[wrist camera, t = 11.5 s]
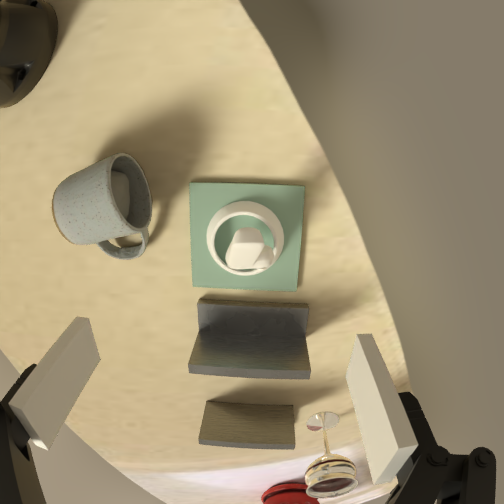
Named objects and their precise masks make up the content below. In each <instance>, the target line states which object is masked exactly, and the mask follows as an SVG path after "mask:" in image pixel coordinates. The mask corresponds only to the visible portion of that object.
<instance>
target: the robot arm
mask: <svg viewBox="0 0 504 504" xmlns="http://www.w3.org/2000/svg"><path fill="white" fill-rule="evenodd" d="M56 37H57V17H56V13H55V11H54V9H53V7H52V6H51V5H50V4H49V3H47V2H45V1H43V0H0V108H5V107H9V106H12V105H14V104H16V103H18V102H19V101H20V100H22V99H23V98H24V97H25V96H26V95H27V94H28V93H29V92H30V91H31V90H32V89H33V88H34V86H35V85H36V84H37V82H38V81H39V79H40V78H41V76H42V74H43V73H44V71H45V69H46V67H47V65H48V63H49V60H50V58H51V55H52V53H53V50H54V46H55V42H56ZM100 360H101V359H100V356H99V353H98V349H97V346H96V342H95V339H94V335H93V332H92V328H91V324H90V321H89V318H84V317H78V316H77V317H76V318H75V319H74V320H73V322H72V323H71V324H70V325H69V326H68V327H67V329H66V330H65V331H64V332H63V333H62V335H61V336H60V337H59V338H58V340H57V341H56V342H55V343H54V344H53V346H52V347H51V348H50V349H49V351H48V352H47V353H46V354H45V356H44V357H43V358H42V359H41V361H40V362H39V363H38V365H37V364H32V365H31V366H30V367H28V368H27V369H25V371H24V372H23V373H22V374H21V376H20V378H18V380H17V381H16V384H14V385H13V386H12V387H11V389H10V390H9V391H8V393H7V394H6V395H5V397H4V398H3V399H2V401H1V402H0V504H46V501H45V498H44V495H43V492H42V489H41V486H40V483H39V479H38V476H37V472H36V468H35V465H34V461H33V457H32V453H31V448H30V446H29V444H28V440H29V439H30V438H31V439H32V441H33V442H34V443H35V445H37V446H39V447H41V448H44V449H46V450H49V449H50V447H51V445H52V444H53V442H54V440H55V438H56V436H57V434H58V432H59V430H60V429H61V427H62V425H63V423H64V421H65V420H66V418H67V416H68V414H69V412H70V411H71V409H72V407H73V405H74V404H75V402H76V400H77V398H78V397H79V395H80V393H81V392H82V390H83V388H84V386H85V385H86V383H87V381H88V380H89V378H90V376H91V375H92V373H93V371H94V370H95V368H96V366H97V365H98V363H99V361H100ZM346 380H347V383H348V387H349V391H350V394H351V398H352V402H353V405H354V409H355V413H356V417H357V420H358V424H359V428H360V432H361V436H362V440H363V444H364V448H365V452H366V456H367V460H368V465H369V469H370V473H371V477H372V482H373V485H377V484H383V483H389V482H391V481H392V480H393V479H394V478H395V476H396V475H397V479H398V484H397V485H396V487H395V488H394V489H393V490H392V491H391V492H390V494H391V495H390V497H389V498H388V500H387V502H386V503H385V504H434V503H435V500H436V499H437V504H495V489H496V459H495V456H494V454H493V452H492V451H490V450H489V449H487V448H484V447H478V448H476V449H474V450H473V451H472V452H471V453H470V455H455V454H454V455H453V454H450V453H449V452H448V451H447V449H445V448H443V447H441V446H438V445H437V443H436V441H435V438H434V436H433V434H432V431H431V429H430V426H429V424H428V422H427V420H426V418H425V415H424V413H423V411H422V410H421V406H420V404H419V402H418V400H417V399H416V398H415V397H414V396H413V395H412V394H411V393H410V392H402V393H398V392H397V390H396V388H395V385H394V383H393V381H392V378H391V376H390V374H389V371H388V369H387V367H386V365H385V362H384V360H383V358H382V356H381V353H380V351H379V349H378V347H377V345H376V342H375V340H374V338H373V336H372V334H357V335H356V339H355V343H354V347H353V351H352V354H351V358H350V362H349V366H348V369H347V373H346Z"/></svg>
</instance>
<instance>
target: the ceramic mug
mask: <svg viewBox="0 0 504 504" xmlns="http://www.w3.org/2000/svg"><path fill="white" fill-rule="evenodd" d="M52 214H53V218H54V221H55V224H56V226H57V228H58V230H59V232H60V233H61V234H62V236H63V237H64V238H65V239H66V240H68V241H69V242H71V243H73V244H77V245H90V244H94V243H96V244H97V245H98V246H99V247H100V249H101V250H102V251H104V252H105V253H106V254H107V255H109V256H111V257H114V258H117V259H123V260H129V259H134V258H137V257H139V256H141V255H142V254H143V253H144V251H145V249H146V246H147V243H148V239H149V233H148V228H147V227H148V225H149V223H150V221H151V216H152V199H151V194H150V190H149V185H148V182H147V179H146V177H145V175H144V172H143V170H142V168H141V167H140V166H139V164H138V163H137V161H136V160H135V159H134V158H133V157H131V156H130V155H128V154H126V153H117V154H114V155H112V156H110V157H108V158H106V159H104V160H101V161H99V162H97V163H95V164H93V165H91V166H89V167H87V168H85V169H83V170H81V171H78V172H76V173H74V174H72V175H70V176H69V177H68V178H66V179H65V180H64V181H62V182H61V183H60V184H59V185H58V187H57V188H56V190H55V192H54V195H53V199H52ZM137 233H141V238H142V244H141V245H140V246H135V247H128V248H124V247H122V248H119V247H116V246H115V245H113V244H111V243H110V242H109V241H108V240H109V239H114V238H118V237H123V236H128V235H132V234H137Z"/></svg>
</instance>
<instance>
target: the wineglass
mask: <svg viewBox="0 0 504 504" xmlns="http://www.w3.org/2000/svg"><path fill="white" fill-rule="evenodd" d="M338 422H339V417H338V416H337V415H336V414H334V413H331V412H322V413H318V414H315V415H313V416H312V417H310V418H309V419H308V421H307V427H308V429H310V430H312V431H315V432H323V439H324V451H325V455H323V456H322V457H319V458H318V459H316V460H315V461H314V462H313V463H312V464H310V465H309V467H308V468H307V470H306V473H305V483H306V485H307V486H308V487H307V489H306V493H307V494H308V495H309V496H311V497H314V498H332V497H337V496H341V495H344V494H346V493H349V492H350V491H352V490H353V489H355V488H356V487H357V485H358V481H357V480H356V479H355V476H356V469H355V465H354V464H353V462H352V461H351V460H350V459H348V458H346V457H344V456H341V455H338V454H331V453H330V449H329V444H328V439H327V435H326V431H327V430H330V429H332V428H334V427H335V426H336V425H337V424H338Z"/></svg>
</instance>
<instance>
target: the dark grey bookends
mask: <svg viewBox="0 0 504 504" xmlns="http://www.w3.org/2000/svg"><path fill="white" fill-rule="evenodd" d="M197 306H198V322H199V332H198V335H197V338H196V342H195V345H194V348H193V351H192V354H191V357H190V360H189V363H188V367H189V373H194V374H204V375H216V376H229V377H245V378H266V379H309V378H310V373H311V368H310V361H309V355H308V349H307V343H306V337H305V334H306V327H307V320H308V313H309V306H308V304H291V303H264V302H243V301H224V300H207V299H199V300H198V303H197ZM199 444H203V445H212V446H223V447H235V448H252V449H294V448H295V430H294V415H293V405H255V404H237V403H223V402H212V401H206V406H205V411H204V415H203V420H202V425H201V429H200V434H199Z"/></svg>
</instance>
